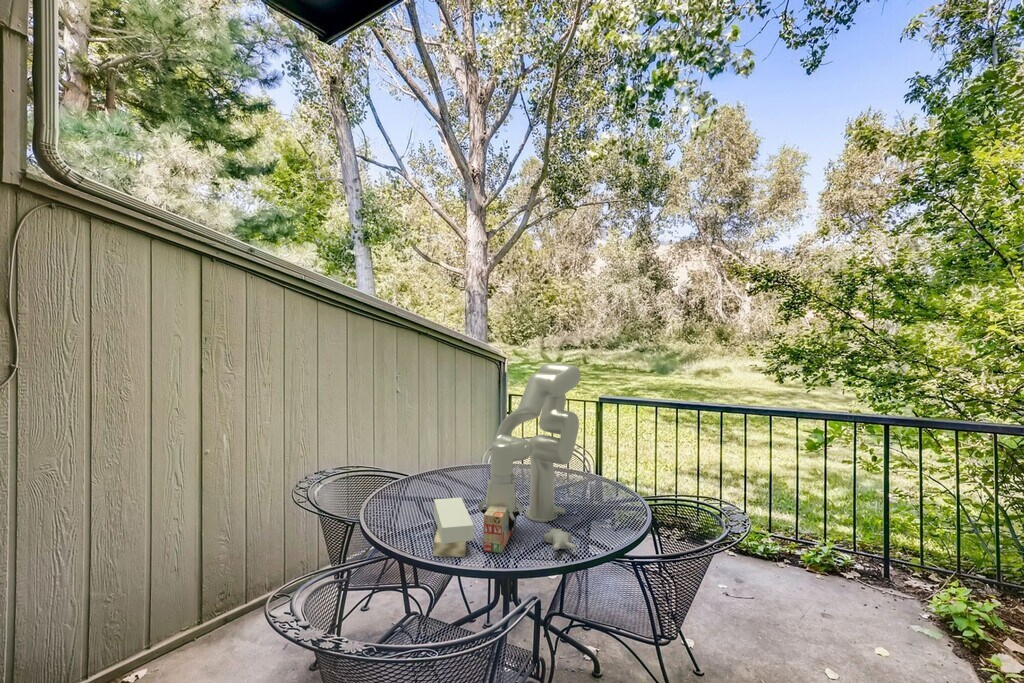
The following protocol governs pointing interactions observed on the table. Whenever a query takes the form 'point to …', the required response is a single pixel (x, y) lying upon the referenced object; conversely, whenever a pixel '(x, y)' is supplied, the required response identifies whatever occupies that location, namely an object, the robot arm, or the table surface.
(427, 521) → the table surface
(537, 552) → the table surface
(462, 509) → the upper slab
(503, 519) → the stack of blocks
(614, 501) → the table surface
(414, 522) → the table surface
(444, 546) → the lower slab
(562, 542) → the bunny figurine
